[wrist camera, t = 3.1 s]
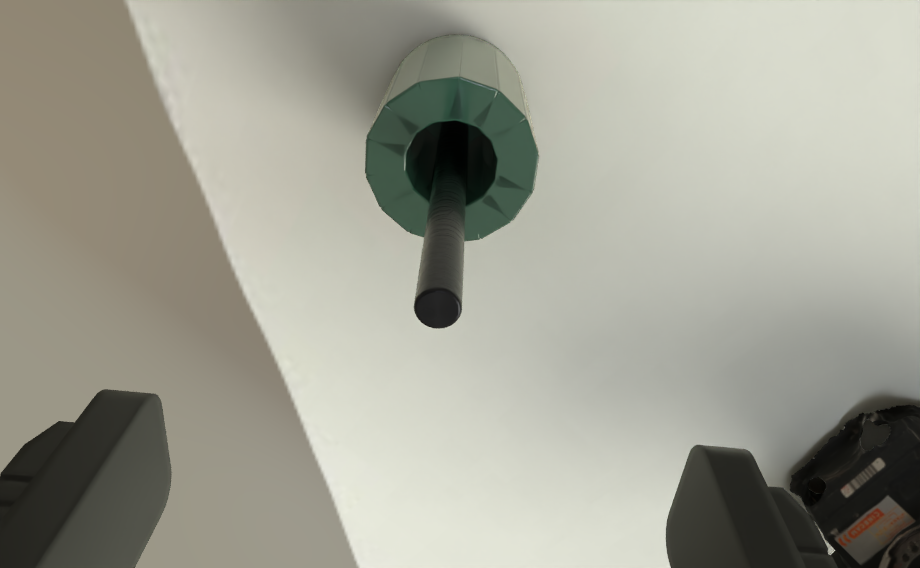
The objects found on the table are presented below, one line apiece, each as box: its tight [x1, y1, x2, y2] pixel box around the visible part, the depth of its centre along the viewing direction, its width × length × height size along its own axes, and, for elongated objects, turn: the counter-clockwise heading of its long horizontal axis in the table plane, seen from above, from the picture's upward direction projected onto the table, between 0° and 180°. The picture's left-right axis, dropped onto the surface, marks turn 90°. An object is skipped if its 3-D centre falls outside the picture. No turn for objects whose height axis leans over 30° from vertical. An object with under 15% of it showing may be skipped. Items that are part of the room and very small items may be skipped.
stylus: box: [414, 120, 469, 328], centre depth 21 cm, size 1×1×15 cm
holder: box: [365, 34, 539, 241], centre depth 25 cm, size 5×6×7 cm
